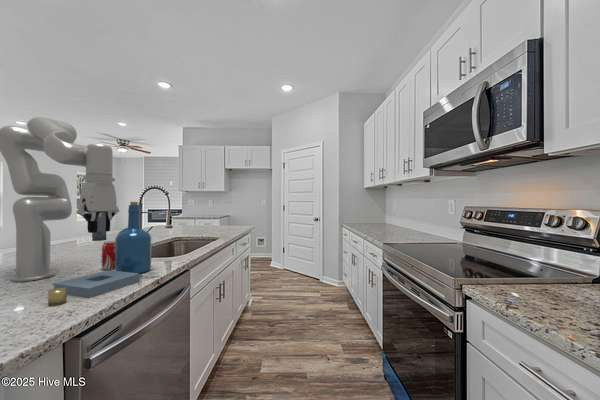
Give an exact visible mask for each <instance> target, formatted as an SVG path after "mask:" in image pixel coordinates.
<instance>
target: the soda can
mask: <svg viewBox="0 0 600 400" xmlns="http://www.w3.org/2000/svg"><path fill="white" fill-rule="evenodd" d="M101 268H102V269H103V270H104V271H107V270H111V269H113V270H115V240H107V241H104V242H103V244H102V245H101Z"/></svg>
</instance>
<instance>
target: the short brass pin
mask: <svg viewBox="0 0 600 400" xmlns="http://www.w3.org/2000/svg"><path fill="white" fill-rule="evenodd" d="M66 293H67V289H66V288H58V289H54V288H53V289H50V290H48V291H47V306H48V307H58V306H62V305H64V304H67V295H66Z"/></svg>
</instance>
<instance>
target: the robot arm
mask: <svg viewBox="0 0 600 400" xmlns="http://www.w3.org/2000/svg"><path fill="white" fill-rule="evenodd" d="M76 140H77V130H76V128H75V127H74V126H73V125H72V124H70V123H68V122H63V121H60V120H56V119H52V118H47V117H42V116H41V117H40V116H37V117H32V118H31V119H29V120H28V121H27V124H26V127H24V126H17V125H6V126H2V127H1V128H0V154H1V155H2V157H3V159H4V161H5V162H6V165H7V168H8V172H9V177H10V180H11V181H10V182H11V185H12V188H13V190H14V192H15V193H16V194H17V195H20V196H27V197H21V198H18V199H17V200H15V201H14V203H13V205H12V214H13V217H14V223H15V231H16V233H15V234H16V235H15V239H16V240H15V244H16V245H15V268H14V269H13V270H14V271H15V274H14V275H12V276H11V277H10V276H9V281H10V282H13V283H18V282H19V283H22V282H23V283H24V282H31V281H32V282H33V281H37V280H38V281H39V280H43V279H48V278H51V277H54V276H55V275H56V271H55V270H51V230H50V228H49V227H48V226H47V224H45V222H46V221H59V220H61V221H62V220H65V219H68V218H69V217H70V216H71V214H72V212H73V206H72V203H71V202H72V201H71V198H70V193H69V190H68V187H67V183H66V181H65V180H64V177H62V176H61V175H58V174H56V173H55V174H54V173H45V172H41V171H40V168H39V165H38V162H37V160H36V159H35V158H34V157H33V156H32V154H30V153H29V152H28V151H26V150H29V151H37V152H43V153H45V155H47V157H49V158H50V159H51V160H53V161H55V162H56V163H59V164H63V165H66V166H67V165H69V166H76V167H77V166H78V167H84V168H85V182H83V183H82V185H81V190H80V194H79V204H78V205H79V206H78V209H77V210H76V214H78V215H79V216H81V217H82V218H83V219H85V221H86V222H87V232H88V233H90V234H92V233H96V232H97V222H96V221H95V216H96V212H106V232H110V231H111V221H112V220H113V217H115V215H117V214H119V212H120V209H119V207H118V206H117V194H116V193H117V192H116V188H115V184H113V182H115V181H116V179H115V177H113V148H112V147H111V146H109V145H106V144H103V143H102V144H101V143H90V144H89V143H88V144H87V145H84V144H77V143H75V141H76Z"/></svg>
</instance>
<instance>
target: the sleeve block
mask: <svg viewBox="0 0 600 400" xmlns="http://www.w3.org/2000/svg"><path fill="white" fill-rule="evenodd" d="M140 276H141V273H140V274H139V273H130V272H121V271H115V270H104V271H99V272H95V273H91V274H88V275H83V276H80V277H79V276H78V277H75V278H71V279H66V280H63V281H59V282H55V283H54V284H53V289H58V288H66V289H67V293H66V296H73V297H80V298H85V299H90V298H93V297H97V296H99V295H103V294H106V293H109V292H112V291H115V290H117V289H121V288H124V287H127V286H131V285H133V284H136V283H139V282H140V281H141V280H140V278H141V277H140Z"/></svg>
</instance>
